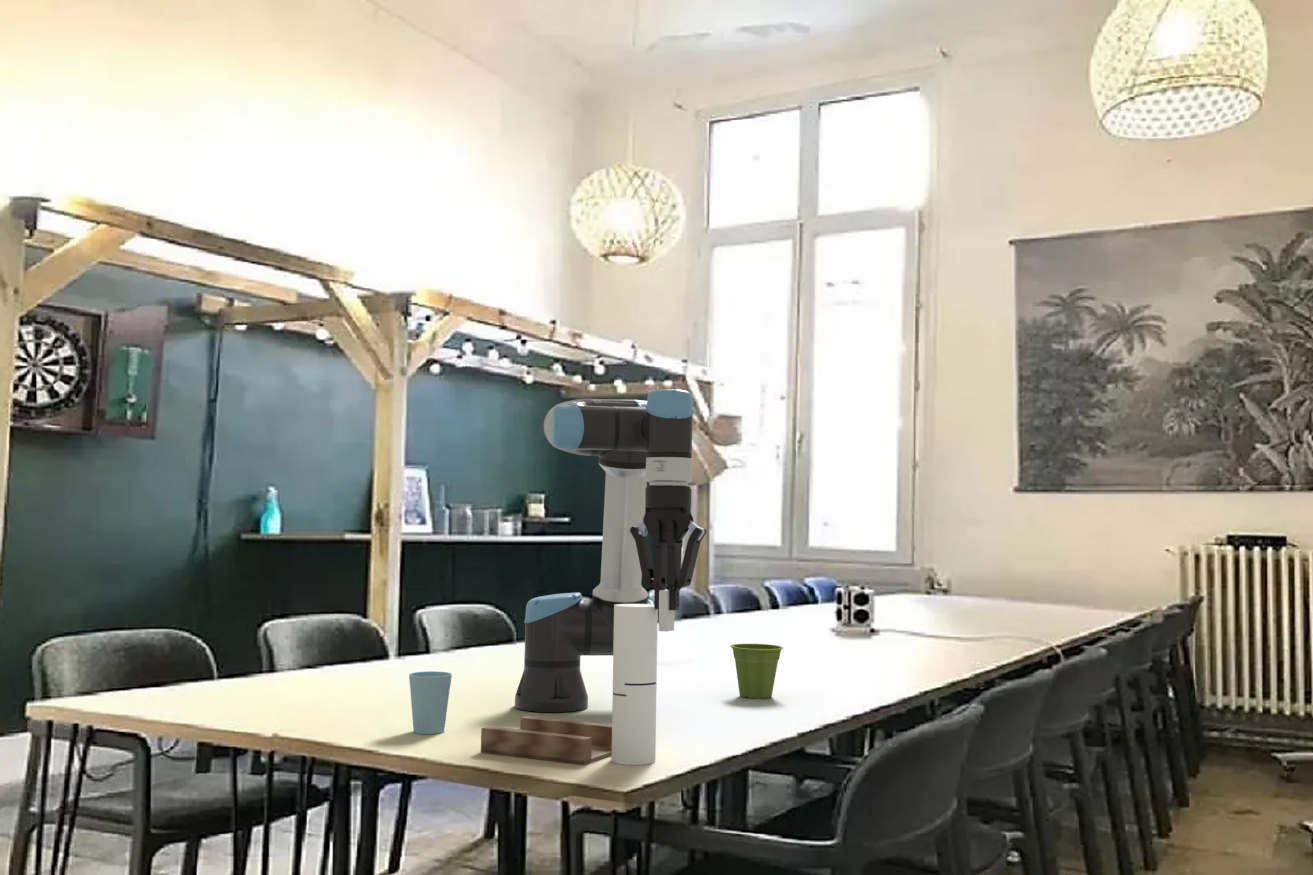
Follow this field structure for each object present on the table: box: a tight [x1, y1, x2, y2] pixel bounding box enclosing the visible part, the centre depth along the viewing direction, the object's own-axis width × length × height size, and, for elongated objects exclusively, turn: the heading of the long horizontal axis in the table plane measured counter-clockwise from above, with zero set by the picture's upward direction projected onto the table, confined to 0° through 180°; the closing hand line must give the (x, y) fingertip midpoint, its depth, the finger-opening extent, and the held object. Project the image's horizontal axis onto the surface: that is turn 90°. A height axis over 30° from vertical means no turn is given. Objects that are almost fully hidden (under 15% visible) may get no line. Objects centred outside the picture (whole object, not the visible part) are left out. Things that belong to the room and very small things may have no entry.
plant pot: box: [729, 643, 784, 700], centre depth 265 cm, size 12×12×11 cm
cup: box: [408, 670, 453, 735], centre depth 215 cm, size 8×8×10 cm
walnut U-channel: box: [480, 715, 612, 766], centre depth 199 cm, size 20×14×4 cm
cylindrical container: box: [610, 604, 659, 766], centre depth 193 cm, size 7×7×25 cm
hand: (666, 630), depth 191 cm, fingers closed
